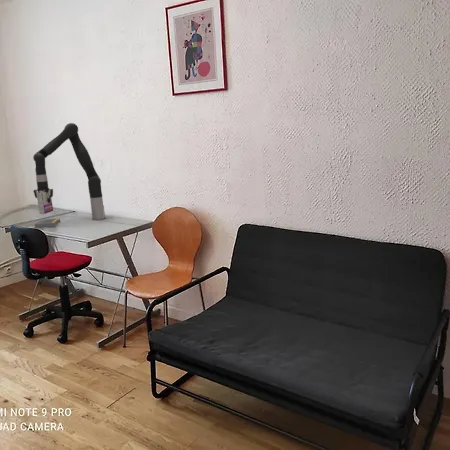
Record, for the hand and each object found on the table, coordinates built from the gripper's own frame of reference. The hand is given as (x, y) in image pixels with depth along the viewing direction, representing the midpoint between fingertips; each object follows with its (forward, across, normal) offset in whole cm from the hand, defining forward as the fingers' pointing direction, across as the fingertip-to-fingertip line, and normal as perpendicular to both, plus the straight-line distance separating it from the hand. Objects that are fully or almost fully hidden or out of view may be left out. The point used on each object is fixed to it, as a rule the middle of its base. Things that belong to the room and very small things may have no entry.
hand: (45, 203), depth 343 cm
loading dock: (+17, 0, 0) cm, 17 cm away
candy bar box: (+7, 0, 0) cm, 7 cm away
